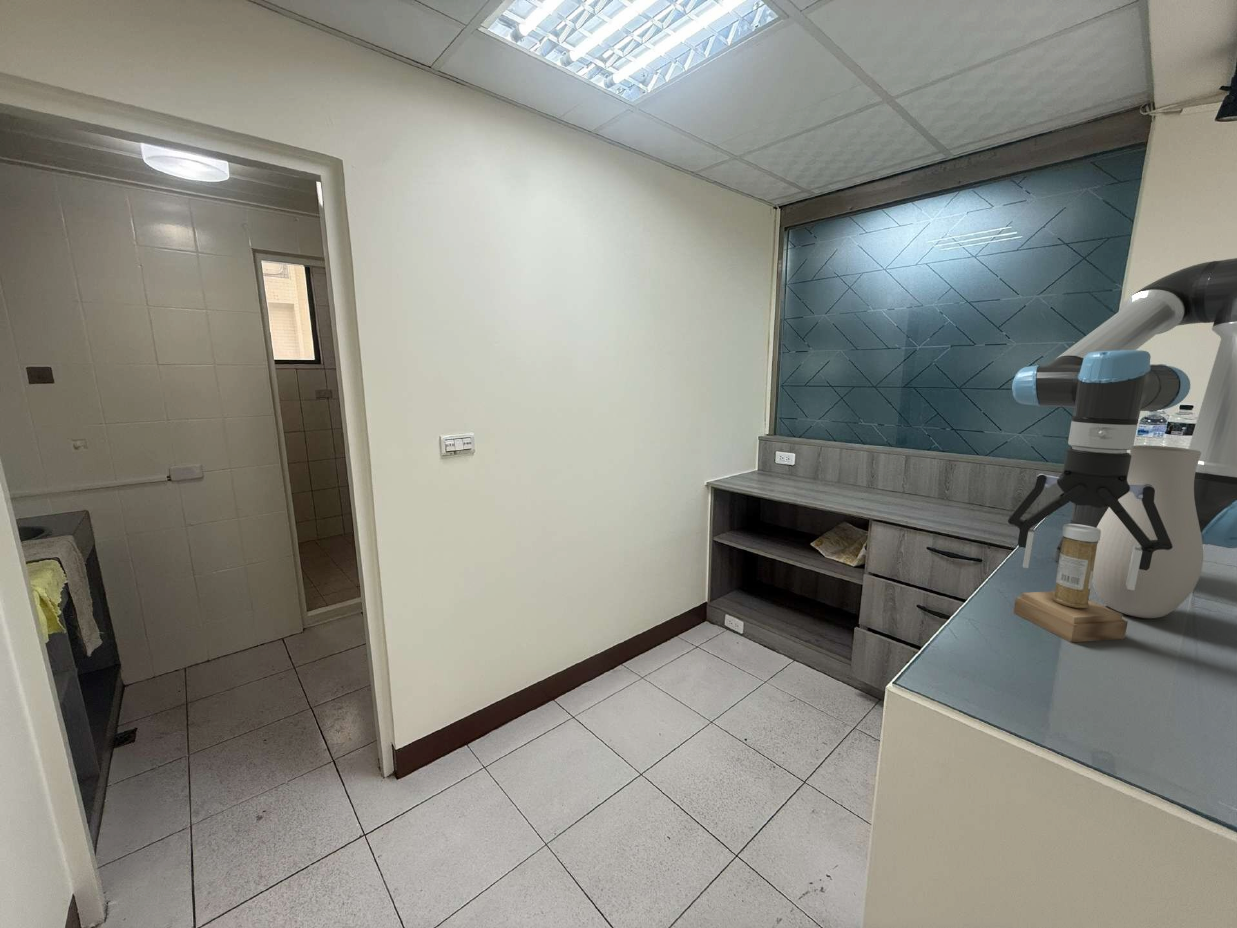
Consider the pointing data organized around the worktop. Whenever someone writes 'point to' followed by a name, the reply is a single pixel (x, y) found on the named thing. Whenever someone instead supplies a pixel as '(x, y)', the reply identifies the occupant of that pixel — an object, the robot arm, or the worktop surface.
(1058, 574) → the sprinkles bottle
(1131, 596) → the vase
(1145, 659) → the worktop surface
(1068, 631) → the pedestal
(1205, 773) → the worktop surface
